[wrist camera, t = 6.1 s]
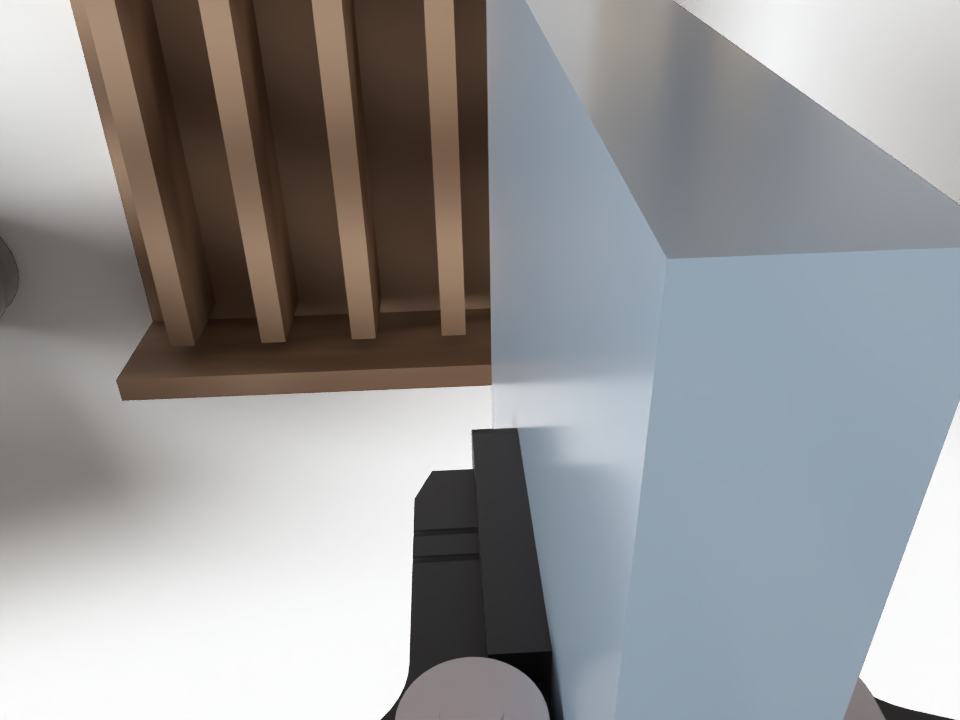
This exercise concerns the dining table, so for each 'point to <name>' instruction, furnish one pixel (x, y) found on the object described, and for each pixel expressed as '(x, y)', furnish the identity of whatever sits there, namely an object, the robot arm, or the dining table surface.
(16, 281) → the beverage cup
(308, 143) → the rack
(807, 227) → the plate
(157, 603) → the dining table surface
